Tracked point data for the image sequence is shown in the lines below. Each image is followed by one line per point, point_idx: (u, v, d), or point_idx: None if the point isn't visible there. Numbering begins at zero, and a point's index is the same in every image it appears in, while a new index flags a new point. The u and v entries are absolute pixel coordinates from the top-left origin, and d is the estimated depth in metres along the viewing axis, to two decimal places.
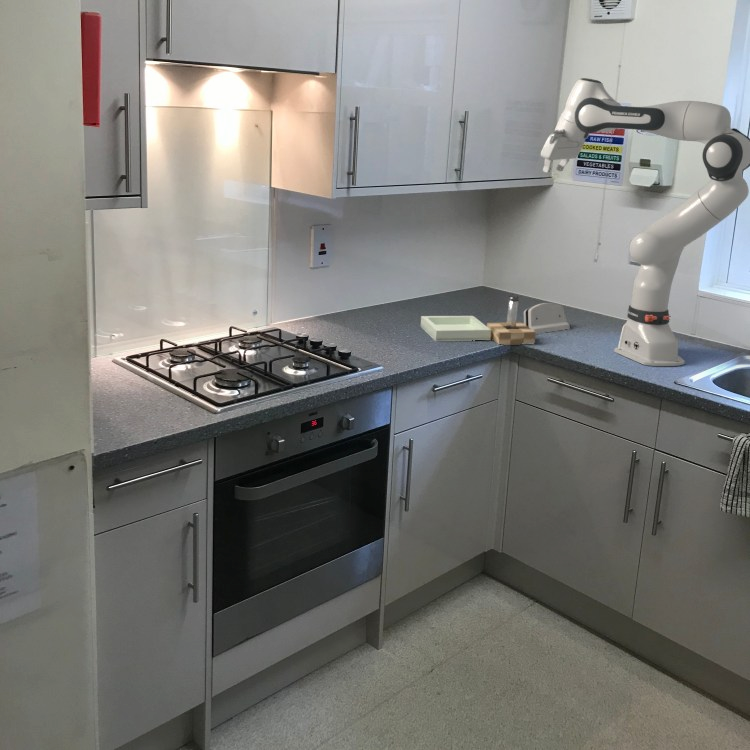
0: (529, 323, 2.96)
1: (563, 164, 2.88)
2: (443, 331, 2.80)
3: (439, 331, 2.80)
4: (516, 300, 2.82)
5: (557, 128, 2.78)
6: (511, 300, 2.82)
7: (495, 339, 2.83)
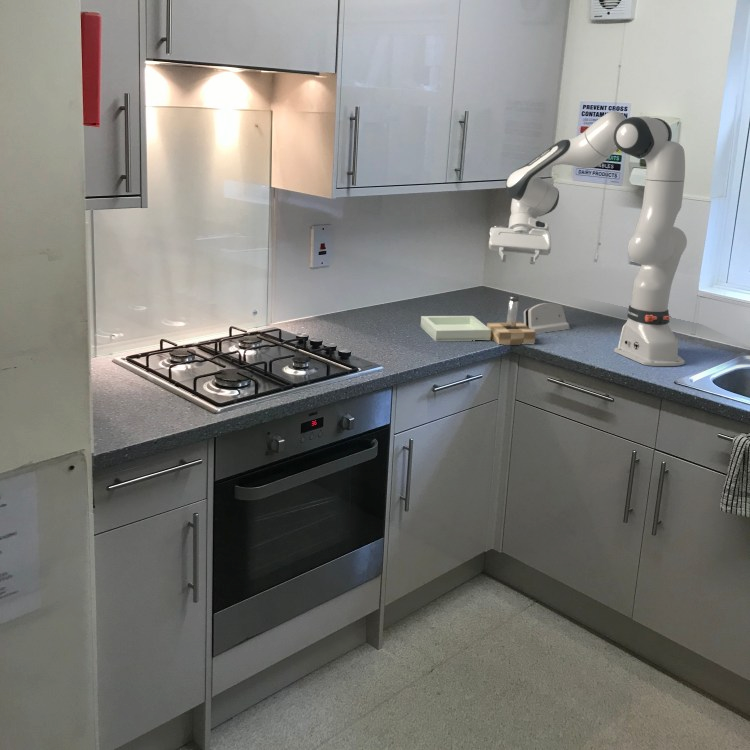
0: (529, 323, 2.96)
1: None
2: (443, 331, 2.80)
3: (439, 331, 2.80)
4: (516, 300, 2.82)
5: None
6: (511, 300, 2.82)
7: (495, 339, 2.83)
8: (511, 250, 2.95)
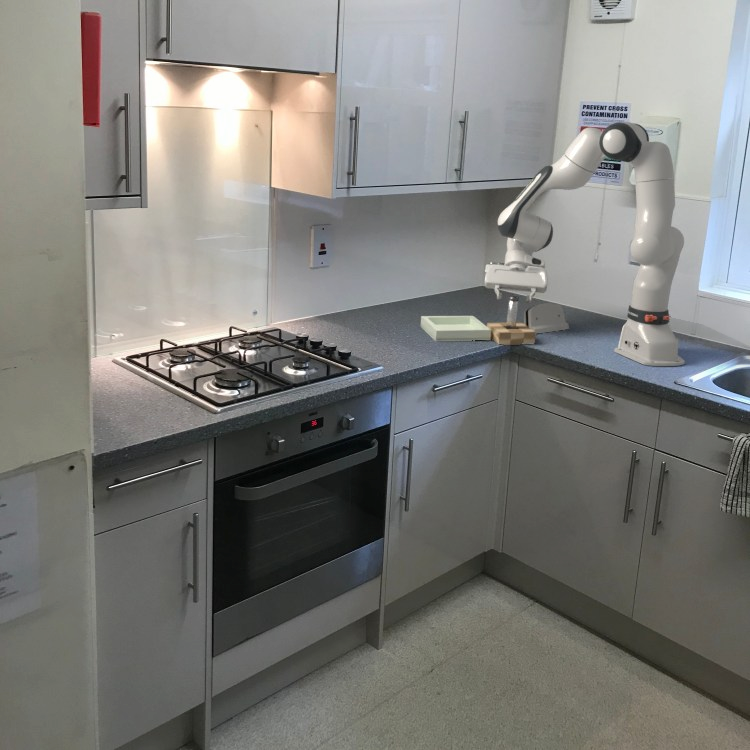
0: (529, 323, 2.96)
1: None
2: (443, 331, 2.80)
3: (439, 331, 2.80)
4: (516, 300, 2.82)
5: None
6: (511, 300, 2.82)
7: (495, 339, 2.83)
8: (507, 288, 2.91)
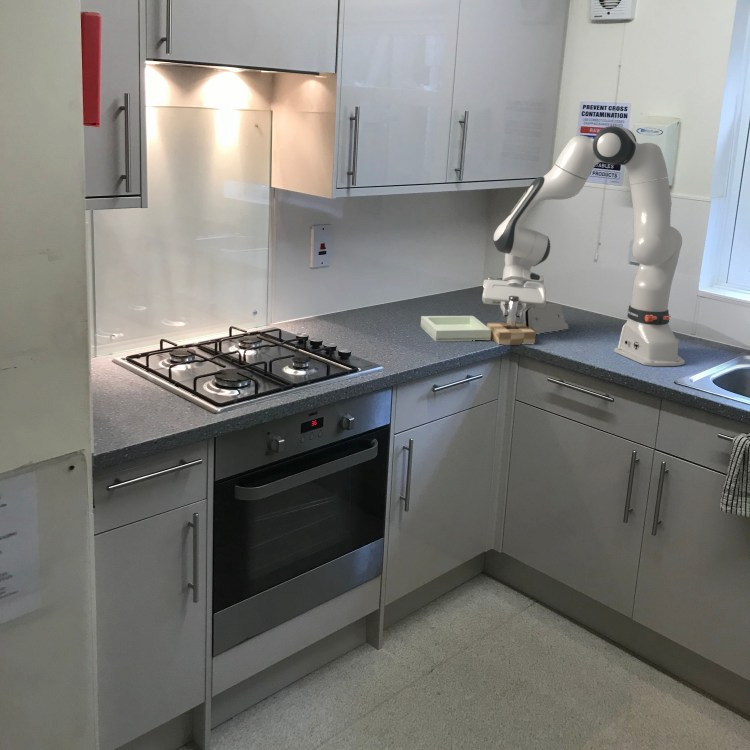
0: (529, 323, 2.95)
1: None
2: (443, 331, 2.80)
3: (439, 331, 2.80)
4: (516, 300, 2.82)
5: None
6: (511, 300, 2.82)
7: (495, 339, 2.83)
8: (505, 303, 2.88)
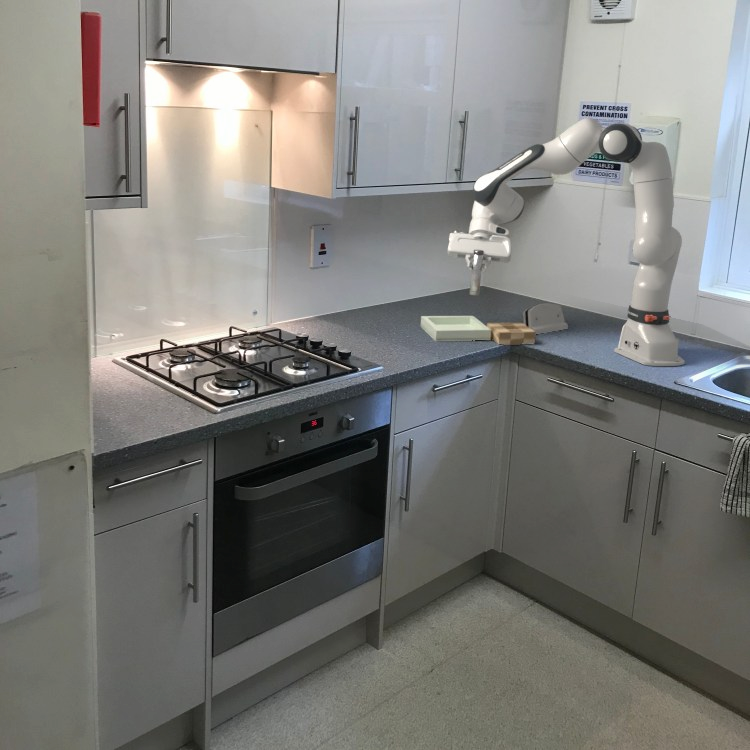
0: (529, 324, 2.95)
1: None
2: (443, 331, 2.80)
3: (439, 331, 2.80)
4: (481, 254, 2.80)
5: None
6: (476, 254, 2.80)
7: (495, 339, 2.83)
8: (470, 257, 2.86)
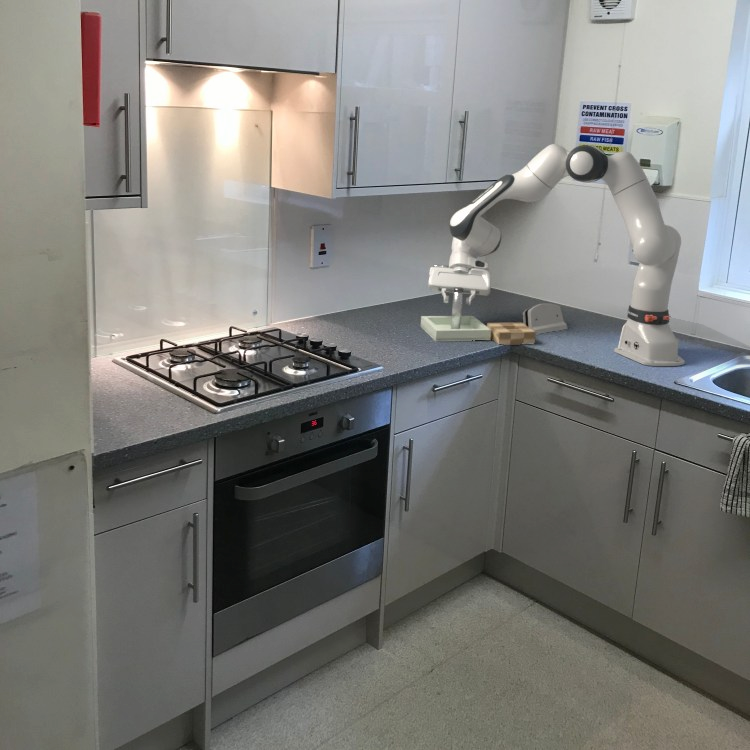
0: (529, 324, 2.95)
1: None
2: (443, 331, 2.80)
3: (439, 331, 2.80)
4: (461, 291, 2.85)
5: None
6: (456, 291, 2.85)
7: (495, 339, 2.83)
8: (451, 290, 2.91)
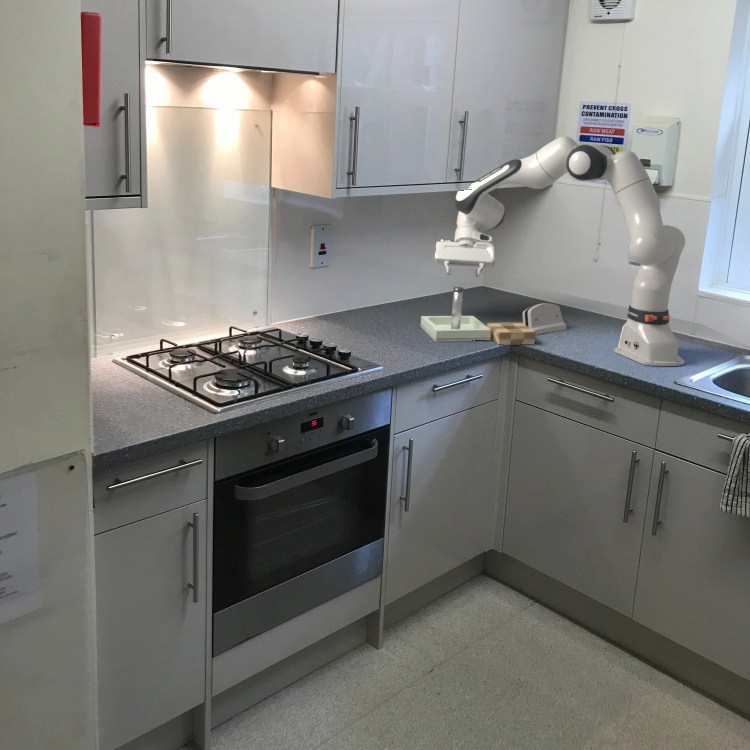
0: (529, 324, 2.95)
1: None
2: (443, 331, 2.80)
3: (439, 331, 2.80)
4: (460, 291, 2.85)
5: None
6: (456, 291, 2.85)
7: (495, 339, 2.83)
8: (457, 263, 3.01)
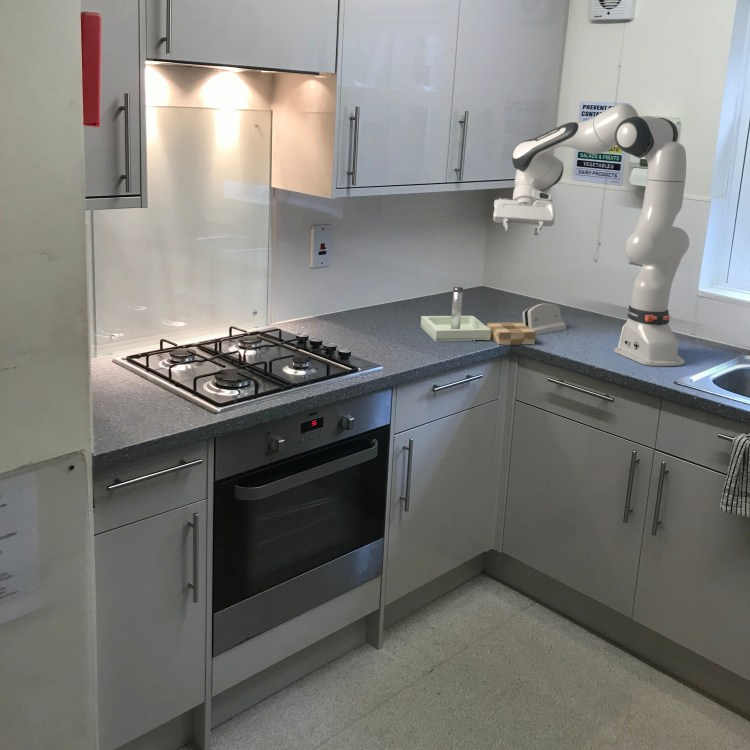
0: (529, 324, 2.94)
1: None
2: (443, 331, 2.80)
3: (439, 331, 2.80)
4: (460, 291, 2.85)
5: None
6: (455, 291, 2.85)
7: (495, 339, 2.83)
8: (515, 222, 2.99)
